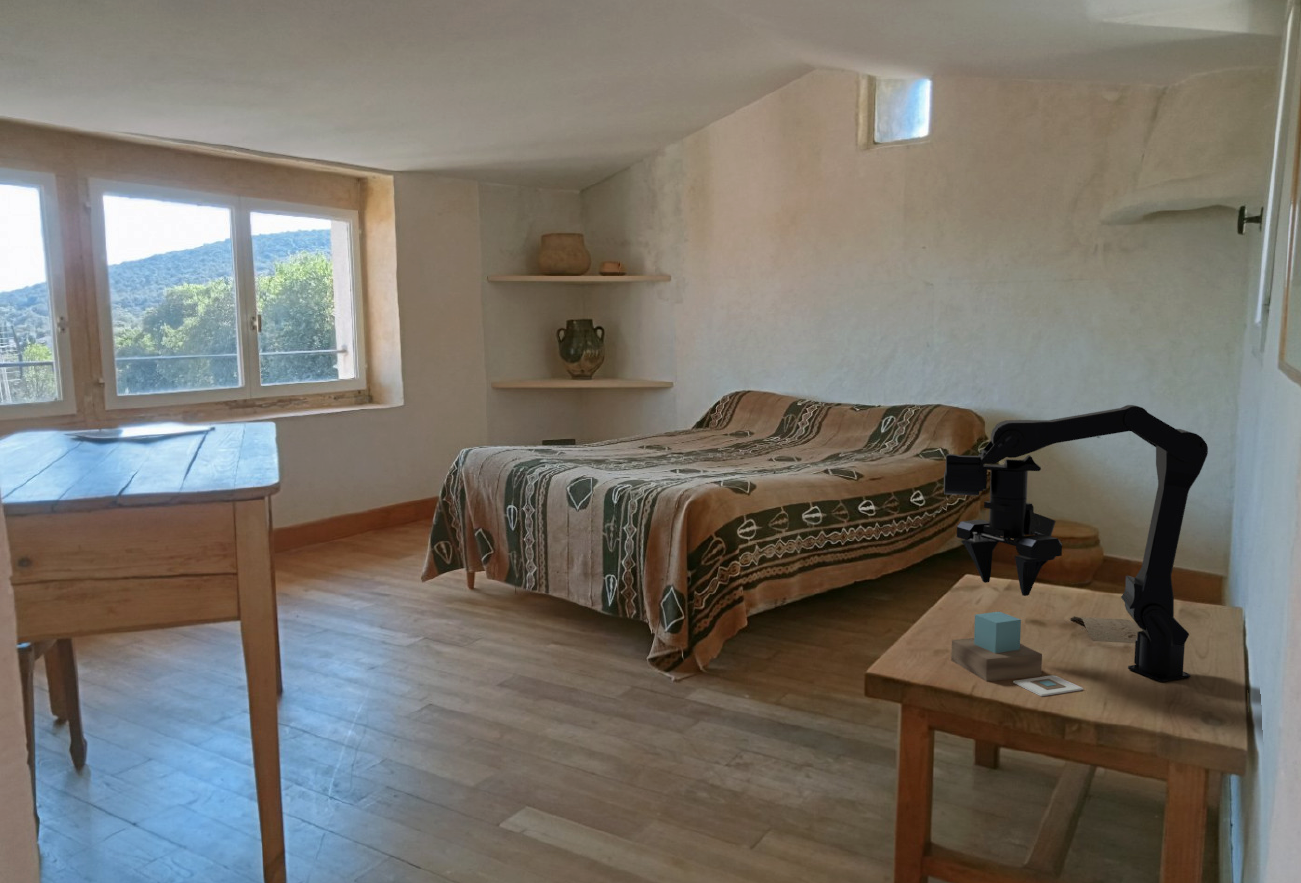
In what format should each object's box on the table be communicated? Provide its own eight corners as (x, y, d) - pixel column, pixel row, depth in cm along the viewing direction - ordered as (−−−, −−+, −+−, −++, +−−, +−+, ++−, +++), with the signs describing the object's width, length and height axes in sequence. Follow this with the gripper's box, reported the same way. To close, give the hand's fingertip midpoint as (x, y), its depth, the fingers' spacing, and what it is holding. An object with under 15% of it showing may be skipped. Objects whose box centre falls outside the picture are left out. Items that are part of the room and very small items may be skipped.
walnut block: (1041, 678, 147) (1042, 654, 147) (985, 683, 145) (986, 659, 144) (1003, 658, 157) (1004, 635, 156) (951, 662, 155) (951, 639, 154)
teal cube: (1019, 649, 149) (1020, 619, 149) (995, 653, 147) (996, 623, 147) (998, 640, 154) (999, 611, 153) (974, 644, 152) (974, 614, 151)
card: (1082, 689, 141) (1083, 686, 141) (1041, 696, 138) (1041, 693, 138) (1053, 676, 147) (1054, 673, 147) (1013, 682, 144) (1013, 679, 144)
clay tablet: (1067, 622, 178) (1068, 608, 178) (1122, 624, 176) (1123, 610, 176) (1092, 646, 164) (1093, 631, 163) (1153, 649, 162) (1153, 634, 162)
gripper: (1090, 502, 146) (1086, 597, 147) (1006, 486, 163) (1004, 572, 165) (1035, 506, 142) (1032, 605, 144) (955, 489, 159) (953, 577, 161)
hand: (1005, 588), depth 153 cm, fingers open, 9 cm apart
